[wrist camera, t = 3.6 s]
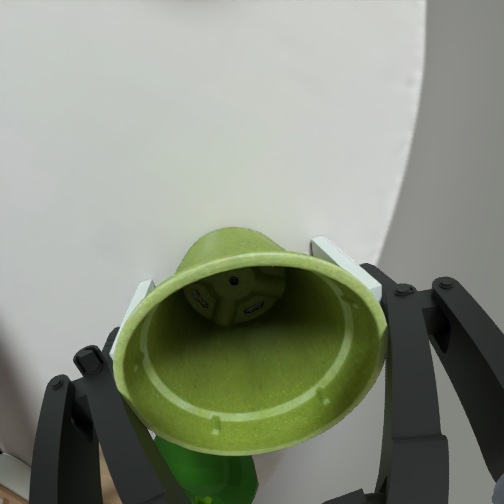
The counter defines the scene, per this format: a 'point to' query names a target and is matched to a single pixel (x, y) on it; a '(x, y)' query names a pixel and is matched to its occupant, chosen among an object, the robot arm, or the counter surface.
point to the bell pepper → (210, 474)
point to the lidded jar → (14, 480)
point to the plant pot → (249, 347)
